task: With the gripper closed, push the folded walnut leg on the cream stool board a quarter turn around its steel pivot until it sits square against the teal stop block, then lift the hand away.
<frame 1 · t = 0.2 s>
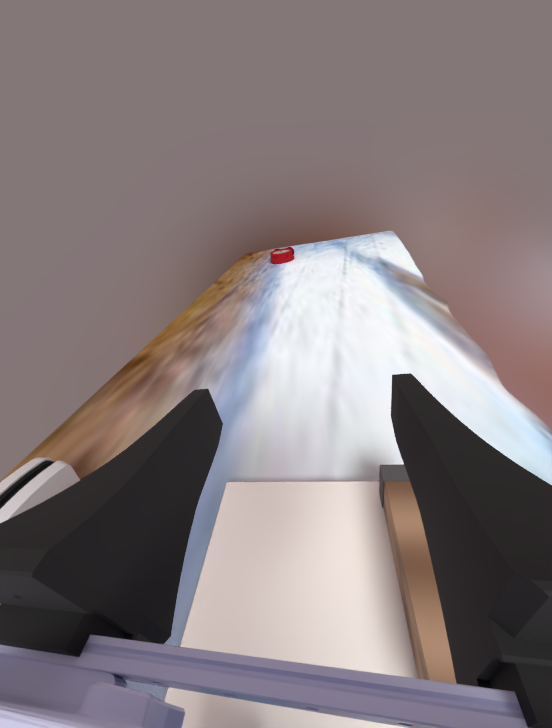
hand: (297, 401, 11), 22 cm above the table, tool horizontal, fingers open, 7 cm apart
folding leg: (425, 581, 20), point 4 cm above the table, hinge at 0.0°
stool board: (328, 624, 22), on the table
alarm clock: (283, 260, 127), on the table
hinge: (28, 557, 31), on the table
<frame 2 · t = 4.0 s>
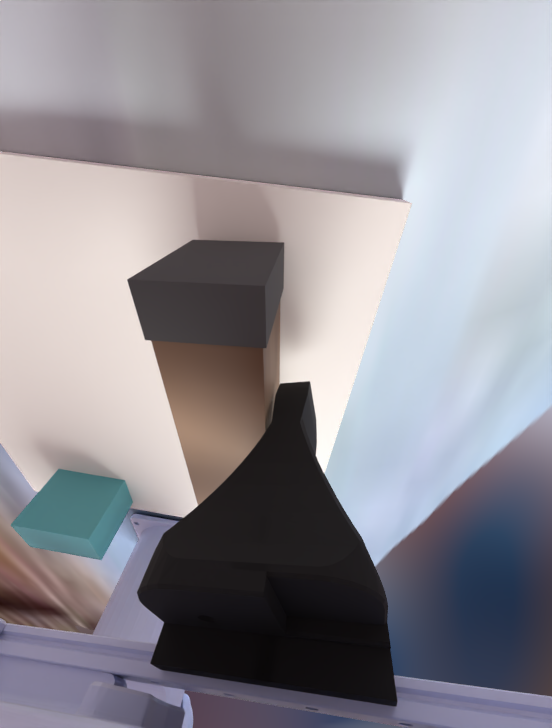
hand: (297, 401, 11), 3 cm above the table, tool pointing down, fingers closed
folding leg: (239, 452, 13), point 4 cm above the table, hinge at 5.4°, touching gripper
stool board: (149, 396, 17), on the table
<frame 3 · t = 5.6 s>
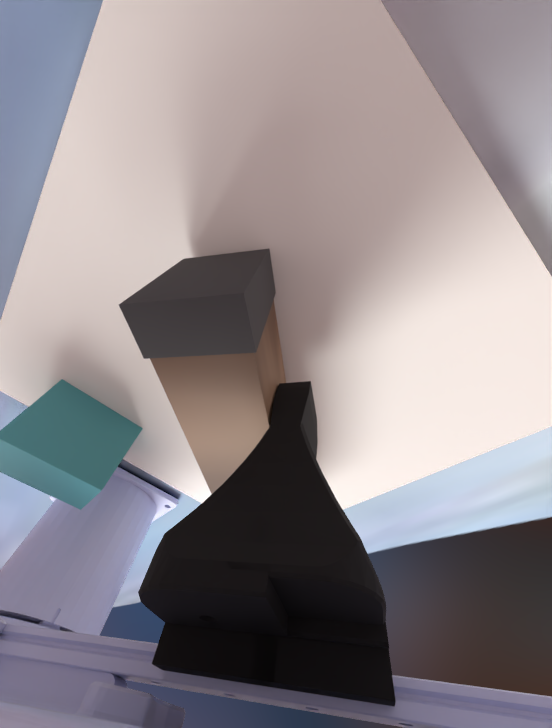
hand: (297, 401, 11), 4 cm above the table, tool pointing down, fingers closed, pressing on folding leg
folding leg: (254, 457, 13), point 4 cm above the table, hinge at 50.5°, touching gripper
stool board: (258, 372, 15), on the table
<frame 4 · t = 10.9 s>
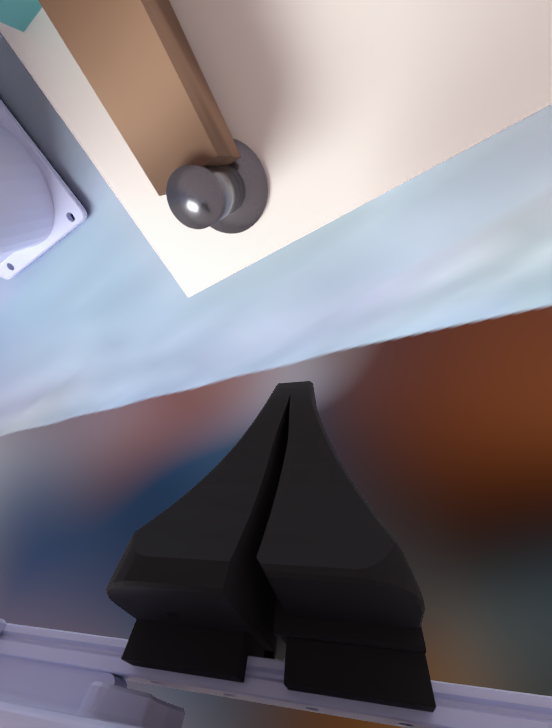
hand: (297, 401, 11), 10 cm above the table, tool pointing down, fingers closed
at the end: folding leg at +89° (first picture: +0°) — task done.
